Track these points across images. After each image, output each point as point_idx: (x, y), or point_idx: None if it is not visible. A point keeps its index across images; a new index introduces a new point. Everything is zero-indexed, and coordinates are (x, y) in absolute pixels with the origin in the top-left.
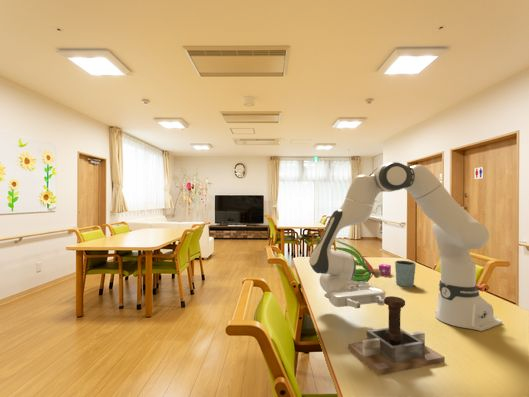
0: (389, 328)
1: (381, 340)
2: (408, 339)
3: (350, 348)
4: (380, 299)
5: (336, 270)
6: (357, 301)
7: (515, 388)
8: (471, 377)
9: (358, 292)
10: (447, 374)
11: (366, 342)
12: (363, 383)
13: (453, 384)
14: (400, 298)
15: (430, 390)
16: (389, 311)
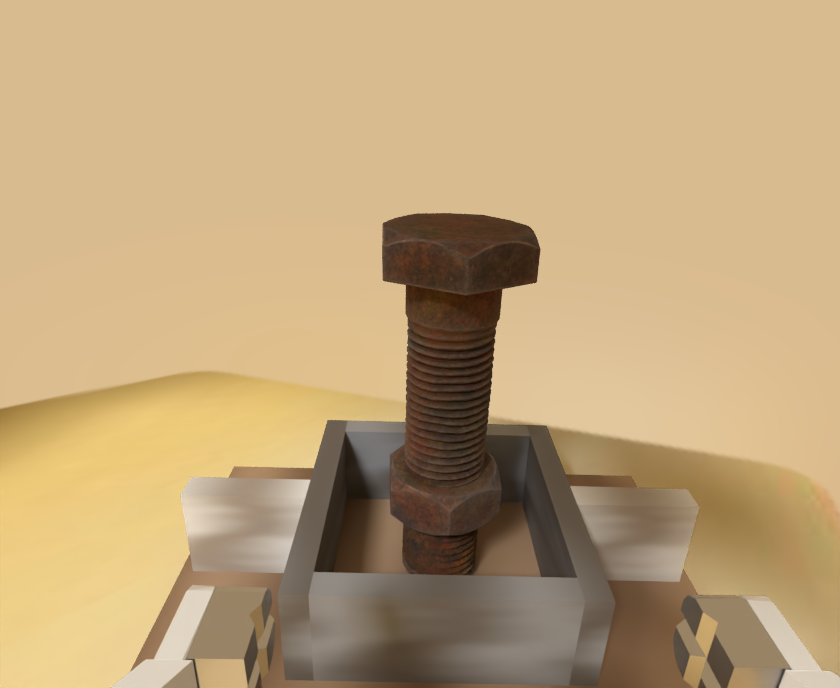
0: (480, 452)
1: (565, 479)
2: (334, 504)
3: None
4: (213, 622)
5: None
6: (726, 655)
7: (202, 378)
8: (260, 421)
9: None
10: None
11: (677, 489)
12: (713, 482)
13: (365, 417)
14: (394, 225)
15: None
16: (493, 331)
